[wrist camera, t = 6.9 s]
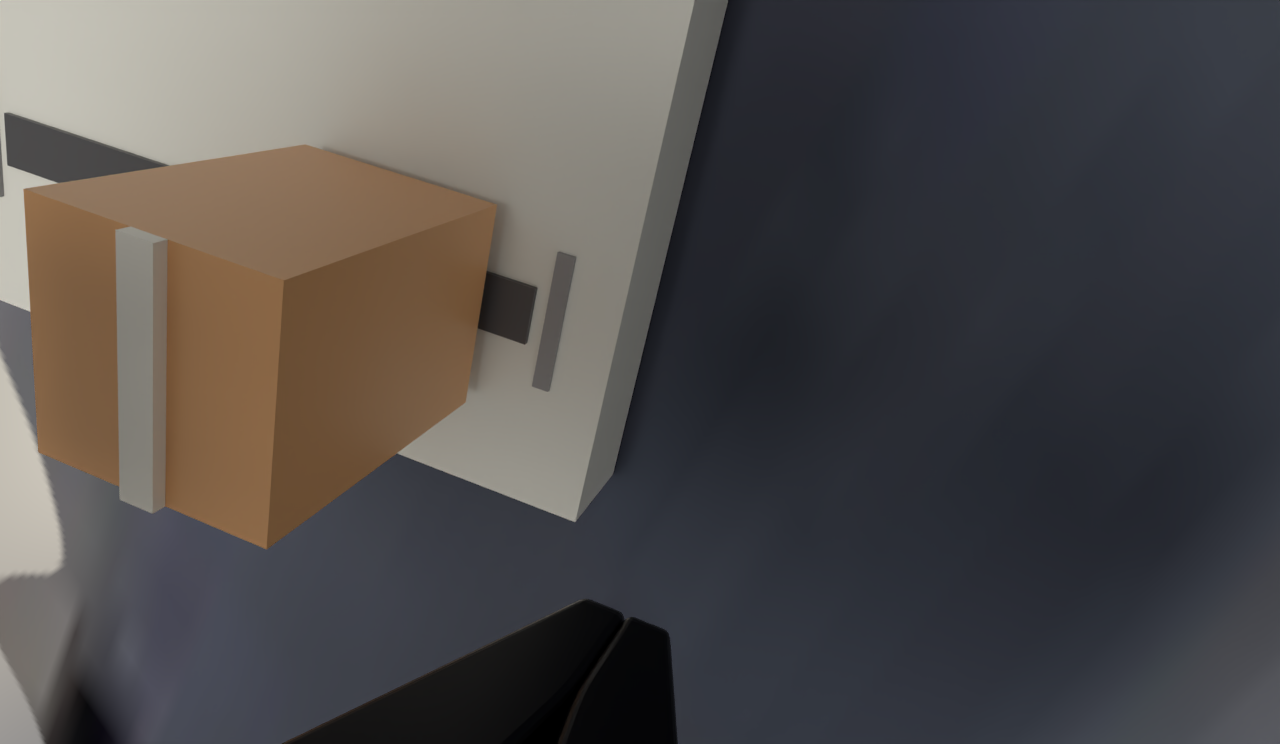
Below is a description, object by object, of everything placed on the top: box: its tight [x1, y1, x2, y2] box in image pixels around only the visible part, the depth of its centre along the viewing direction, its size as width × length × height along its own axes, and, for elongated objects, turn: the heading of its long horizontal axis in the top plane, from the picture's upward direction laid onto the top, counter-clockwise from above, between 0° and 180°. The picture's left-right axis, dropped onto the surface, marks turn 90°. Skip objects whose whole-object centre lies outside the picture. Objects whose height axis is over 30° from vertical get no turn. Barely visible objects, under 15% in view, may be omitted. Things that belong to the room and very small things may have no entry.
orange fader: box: [23, 144, 497, 549], centre depth 13 cm, size 4×4×5 cm
